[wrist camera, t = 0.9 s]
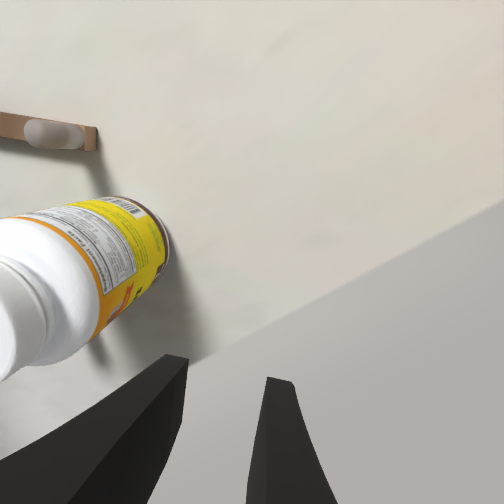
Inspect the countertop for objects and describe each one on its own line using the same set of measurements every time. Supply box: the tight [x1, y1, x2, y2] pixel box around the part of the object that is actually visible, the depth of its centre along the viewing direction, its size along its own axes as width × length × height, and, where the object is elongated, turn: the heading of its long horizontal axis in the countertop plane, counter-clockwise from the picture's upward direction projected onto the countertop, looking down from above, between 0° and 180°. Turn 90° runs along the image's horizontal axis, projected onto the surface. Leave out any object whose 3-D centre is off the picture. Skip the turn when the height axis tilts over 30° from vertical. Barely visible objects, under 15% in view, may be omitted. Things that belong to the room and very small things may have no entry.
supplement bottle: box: [0, 196, 169, 382], centre depth 14 cm, size 6×6×10 cm
